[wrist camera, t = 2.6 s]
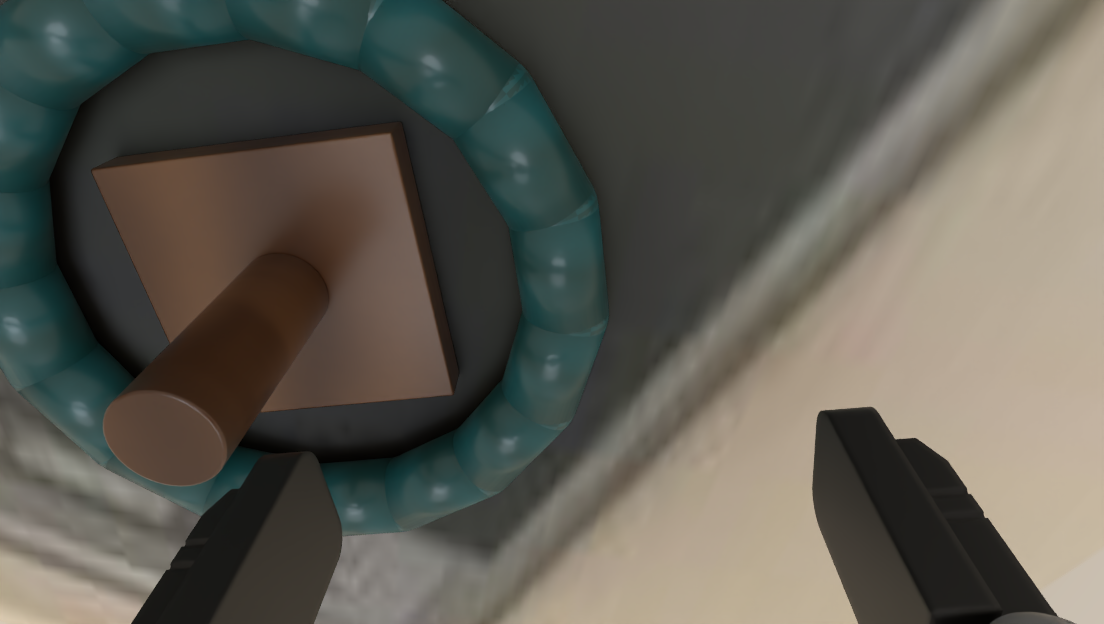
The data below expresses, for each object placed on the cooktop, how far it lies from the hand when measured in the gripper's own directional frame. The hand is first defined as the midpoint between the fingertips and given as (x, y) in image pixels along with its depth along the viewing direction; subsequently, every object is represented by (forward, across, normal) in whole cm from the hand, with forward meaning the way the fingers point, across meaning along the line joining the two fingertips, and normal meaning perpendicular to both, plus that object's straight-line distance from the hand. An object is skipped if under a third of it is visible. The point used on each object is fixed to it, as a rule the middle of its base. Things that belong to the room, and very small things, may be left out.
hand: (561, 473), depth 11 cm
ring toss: (+10, +8, 0) cm, 12 cm away
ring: (+8, +8, 0) cm, 12 cm away
